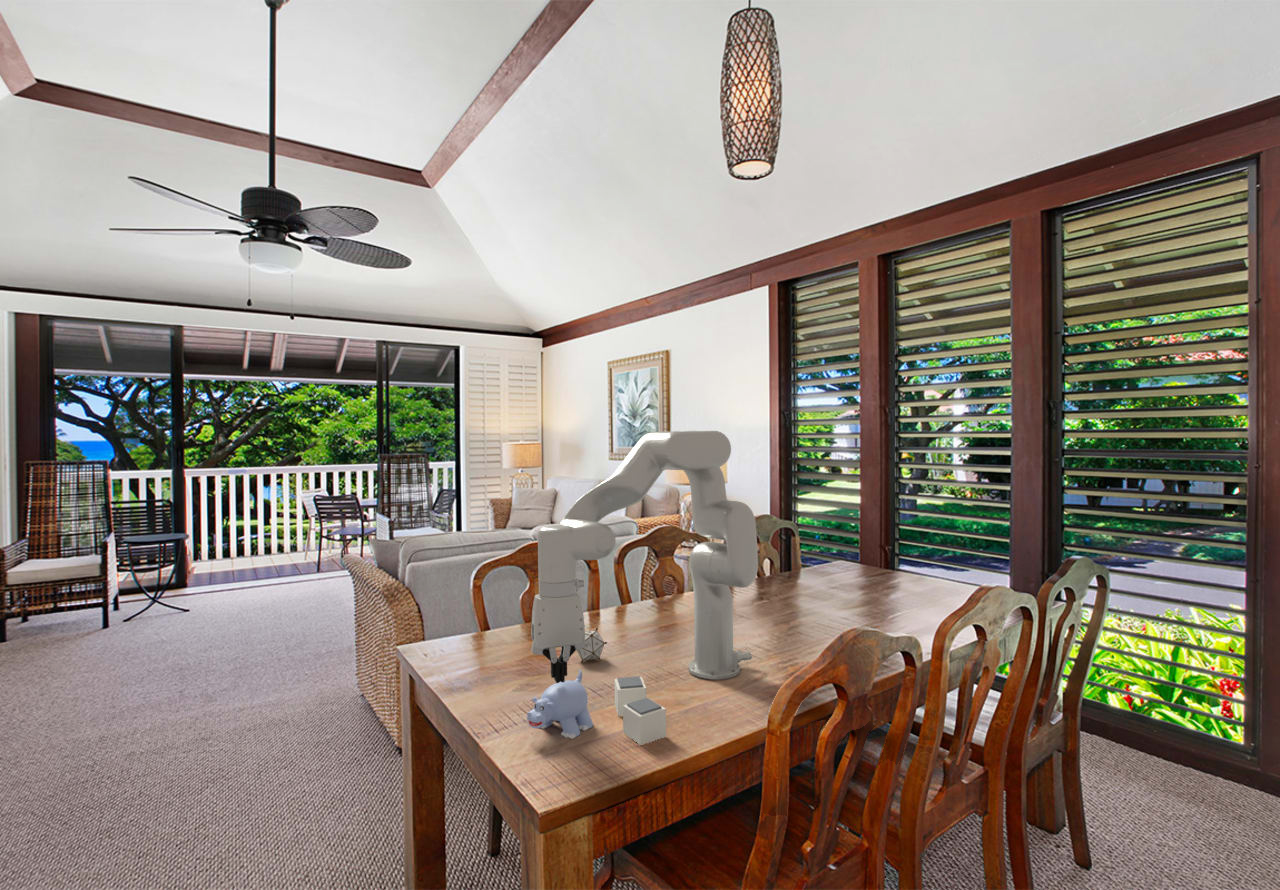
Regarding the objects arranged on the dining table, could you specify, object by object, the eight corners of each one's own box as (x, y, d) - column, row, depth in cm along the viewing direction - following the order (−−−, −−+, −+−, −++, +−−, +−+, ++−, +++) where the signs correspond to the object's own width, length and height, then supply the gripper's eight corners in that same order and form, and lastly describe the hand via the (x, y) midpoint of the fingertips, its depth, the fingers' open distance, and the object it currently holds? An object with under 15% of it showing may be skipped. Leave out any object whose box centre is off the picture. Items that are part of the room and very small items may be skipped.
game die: (594, 676, 160) (600, 653, 154) (565, 663, 162) (569, 640, 156) (608, 650, 167) (614, 627, 162) (579, 637, 169) (584, 614, 163)
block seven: (648, 725, 125) (648, 695, 125) (666, 737, 120) (665, 706, 120) (623, 733, 122) (622, 703, 122) (640, 746, 117) (639, 714, 117)
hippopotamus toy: (512, 737, 121) (511, 688, 121) (563, 708, 134) (562, 664, 134) (553, 752, 115) (552, 701, 115) (603, 721, 128) (602, 674, 127)
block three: (642, 702, 136) (641, 675, 136) (646, 714, 130) (646, 685, 130) (614, 704, 135) (614, 677, 135) (618, 716, 129) (617, 688, 129)
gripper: (589, 580, 129) (590, 668, 130) (517, 587, 124) (518, 678, 125) (599, 589, 122) (600, 682, 122) (522, 596, 117) (524, 693, 118)
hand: (559, 680), depth 124 cm, fingers closed
